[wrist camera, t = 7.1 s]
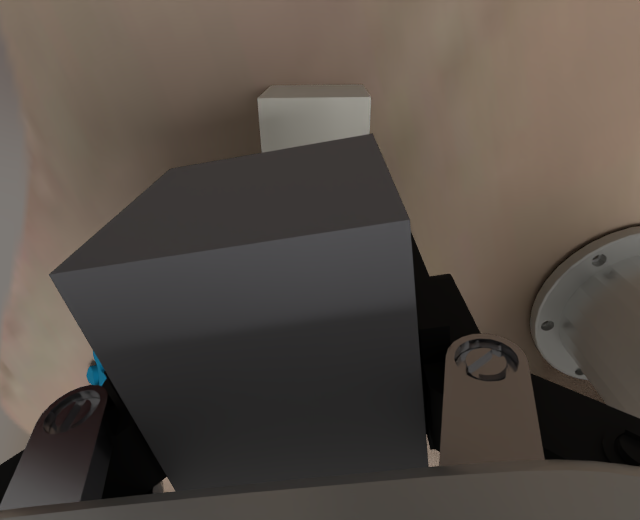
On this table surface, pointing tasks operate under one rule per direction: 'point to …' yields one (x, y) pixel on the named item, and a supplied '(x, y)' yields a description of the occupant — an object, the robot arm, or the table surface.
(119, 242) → the charcoal block
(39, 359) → the table surface
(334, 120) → the cream block
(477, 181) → the table surface
